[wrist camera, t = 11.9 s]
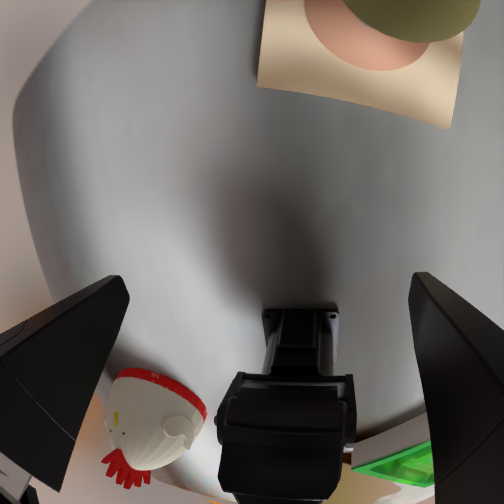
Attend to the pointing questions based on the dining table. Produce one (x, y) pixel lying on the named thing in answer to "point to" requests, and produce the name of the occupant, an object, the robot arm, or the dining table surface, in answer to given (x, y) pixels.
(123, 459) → the kitchen timer
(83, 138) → the dining table surface
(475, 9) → the light bulb
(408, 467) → the tray
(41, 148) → the dining table surface
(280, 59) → the square board
